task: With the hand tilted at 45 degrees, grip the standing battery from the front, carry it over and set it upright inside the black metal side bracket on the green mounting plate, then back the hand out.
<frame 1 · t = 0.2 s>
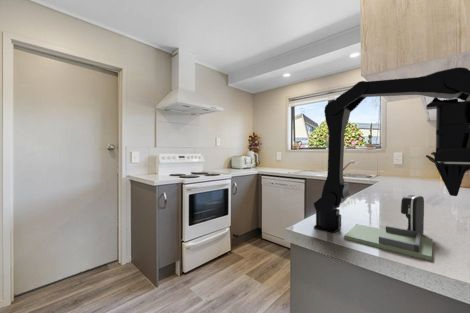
hand: (452, 193, 49), 15 cm above the counter, tool pointing down, fingers open, 9 cm apart
mounting plate: (387, 240, 58), on the counter
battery: (411, 234, 63), on the counter
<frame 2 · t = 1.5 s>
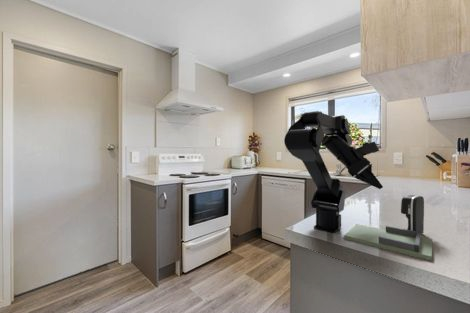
hand: (380, 186, 66), 14 cm above the counter, tool tilted 45°, fingers open, 9 cm apart
nothing on the counter moved.
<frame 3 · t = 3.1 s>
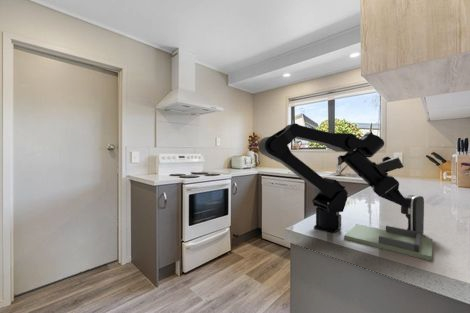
hand: (404, 203, 64), 9 cm above the counter, tool tilted 45°, fingers open, 9 cm apart
nothing on the counter moved.
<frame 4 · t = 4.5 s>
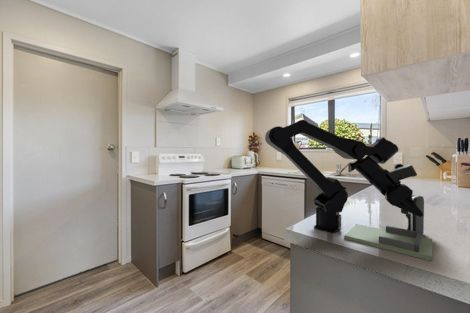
hand: (418, 212, 62), 7 cm above the counter, tool tilted 45°, fingers closed on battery, 7 cm apart
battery: (411, 234, 63), on the counter, touching gripper
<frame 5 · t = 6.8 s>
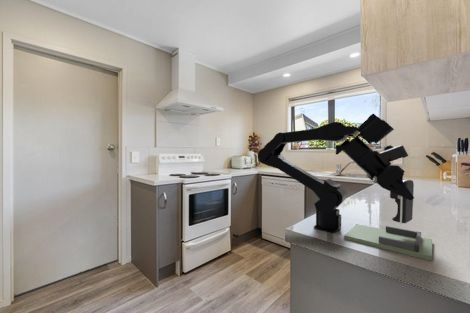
hand: (407, 196, 58), 12 cm above the counter, tool tilted 45°, fingers closed on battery, 7 cm apart
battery: (400, 221, 59), point 5 cm above the counter, touching gripper
when the fingers open (9 cm above the counter, at t = 8.8 s): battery stays where it is, resting on mounting plate.
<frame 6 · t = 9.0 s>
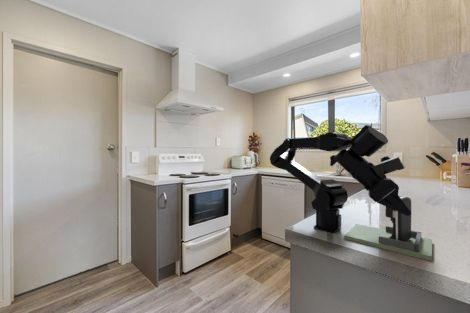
hand: (405, 210, 56), 9 cm above the counter, tool tilted 45°, fingers open, 9 cm apart
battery: (397, 240, 56), point 1 cm above the counter, touching mounting plate
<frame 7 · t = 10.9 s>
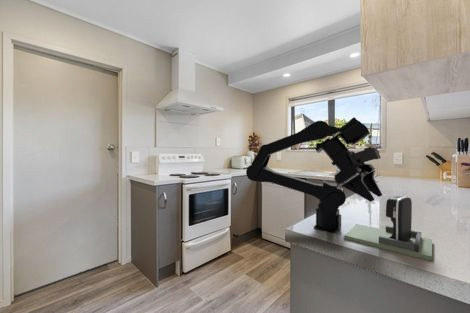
hand: (376, 198, 59), 11 cm above the counter, tool tilted 40°, fingers open, 9 cm apart
nothing on the counter moved.
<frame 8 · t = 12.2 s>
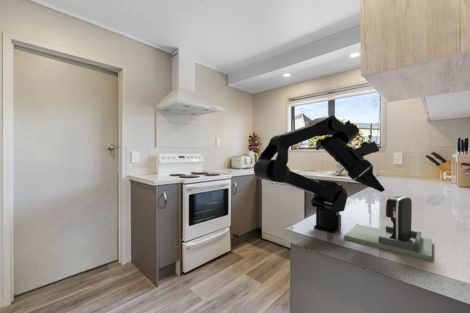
hand: (381, 188, 63), 14 cm above the counter, tool tilted 45°, fingers open, 9 cm apart
nothing on the counter moved.
at the end: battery 0.3 cm from the target spot on the mounting plate, point 0.8 cm above the mounting plate's base; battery tilted 0°; the gripper is holding nothing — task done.
